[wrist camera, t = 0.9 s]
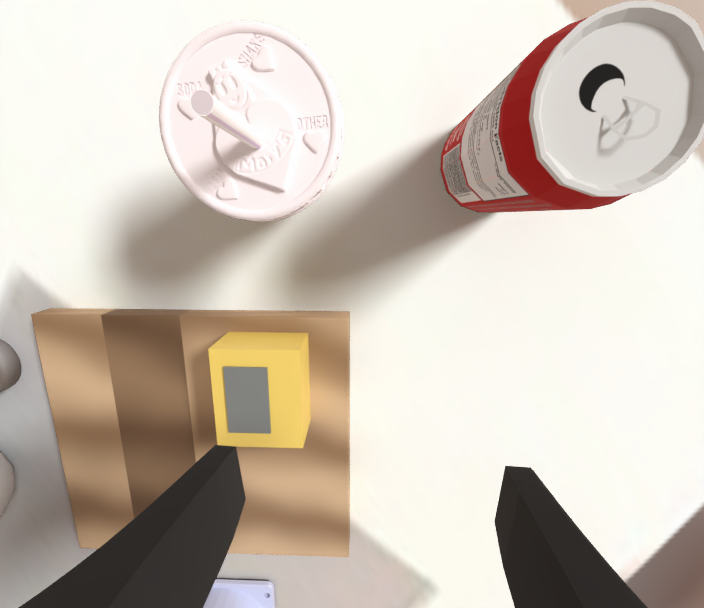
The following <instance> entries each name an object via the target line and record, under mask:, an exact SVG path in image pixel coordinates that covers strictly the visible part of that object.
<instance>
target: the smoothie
mask: <svg viewBox="0 0 704 608" xmlns="http://www.w3.org/2000/svg"><path fill="white" fill-rule="evenodd" d="M159 124H160V132H161V138H162V142H163V146H164V149H165V152H166V155H167V157H168V159H169V162H170V164H171V166H172V168H173V169H174V171H175V173H176V174H177V176H178V177H179V179H180V180H181V182H182V183H183V184H184V185H185V187H186V188H187V189H188V190H189V191H190V192H191V193H192V194H193V195H194V196H195V197H196V198H197V199H199V200H200V201H201V202H203V203H204V204H205V205H207V206H208V207H210V208H212V209H213V210H215V211H218V212H220V213H222V214H224V215H227V216H230V217H234V218H237V219H243V220H250V221H256V222H263V221H274V220H281V219H283V218H286V217H289V216H291V215H294V214H296V213H299V212H301V211H302V210H303V209H305V208H306V207H308V206H309V205H310V204H312V203H313V202H314V201H316V200H317V199H318V198H319V197H320V195H321V194H322V193H323V191H324V190H325V189H326V188H327V186H328V185H329V184H330V182H331V181H332V179H333V177H334V174H335V172H336V170H337V167H338V165H339V163H340V160H341V156H342V149H343V143H344V137H345V131H344V120H343V109H342V106H341V103H340V100H339V97H338V94H337V91H336V88H335V86H334V84H333V82H332V80H331V78H330V76H329V74H328V72H327V70H326V69H325V67H324V66H323V64H322V63H321V61H320V60H319V59H318V57H317V56H316V55H315V54H314V52H313V51H312V50H311V49H310V48H309V47H308V46H307V45H306V44H304V43H303V42H302V41H301V40H300V39H298V38H297V37H295V36H294V35H292V34H291V33H289V32H287V31H285V30H283V29H281V28H279V27H276V26H274V25H271V24H267V23H264V22H258V21H247V20H242V21H232V22H227V23H223V24H220V25H217V26H214V27H212V28H210V29H208V30H206V31H204V32H202V33H201V34H199V35H198V36H197V37H195V38H194V39H193V40H191V41H190V42H189V43H188V44H187V45H186V46H185V47H184V48H183V50H182V51H181V52H180V53H179V54H178V56H177V57H176V59H175V60H174V62H173V64H172V65H171V67H170V69H169V71H168V74H167V76H166V78H165V81H164V85H163V88H162V92H161V97H160V105H159Z"/></svg>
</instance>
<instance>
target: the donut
mask: <svg viewBox="0 0 704 608" xmlns="http://www.w3.org/2000/svg"><path fill="white" fill-rule="evenodd" d="M13 491H14V471H13V467H12V466H11V464H10V463H9V462H8V460H7V459H6V458H5V457H4V455H3V454H2V453H1V452H0V516H1V515H2V514H3V513H4V510H5V508H6V506H7V504H8V502H9V500H10V498H11V496H12V494H13Z"/></svg>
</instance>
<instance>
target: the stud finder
mask: <svg viewBox="0 0 704 608" xmlns="http://www.w3.org/2000/svg"><path fill="white" fill-rule="evenodd" d="M208 351H209V362H210V372H211V383H212V393H213V404H214V414H215V425H216V435H217V445H223V446H236V447H273V448H303V446H304V443H305V439H306V435H307V431H308V428H309V424H310V420H311V416H310V380H309V344H308V333H273V332H228V333H227V334H225V335H224V336H223V337H222V338H221V339H219V340H218V341H217V342H216V343H215V344H213V345H212V346H211V347H210V348H209V349H208Z"/></svg>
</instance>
